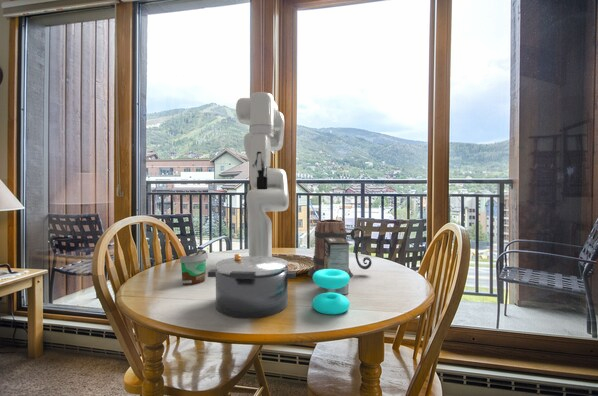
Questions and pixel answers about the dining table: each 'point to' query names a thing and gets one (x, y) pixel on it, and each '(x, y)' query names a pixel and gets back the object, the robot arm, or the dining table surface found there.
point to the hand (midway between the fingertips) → (262, 189)
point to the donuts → (331, 301)
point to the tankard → (333, 230)
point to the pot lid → (251, 266)
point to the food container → (194, 267)
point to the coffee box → (337, 258)
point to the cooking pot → (251, 294)
